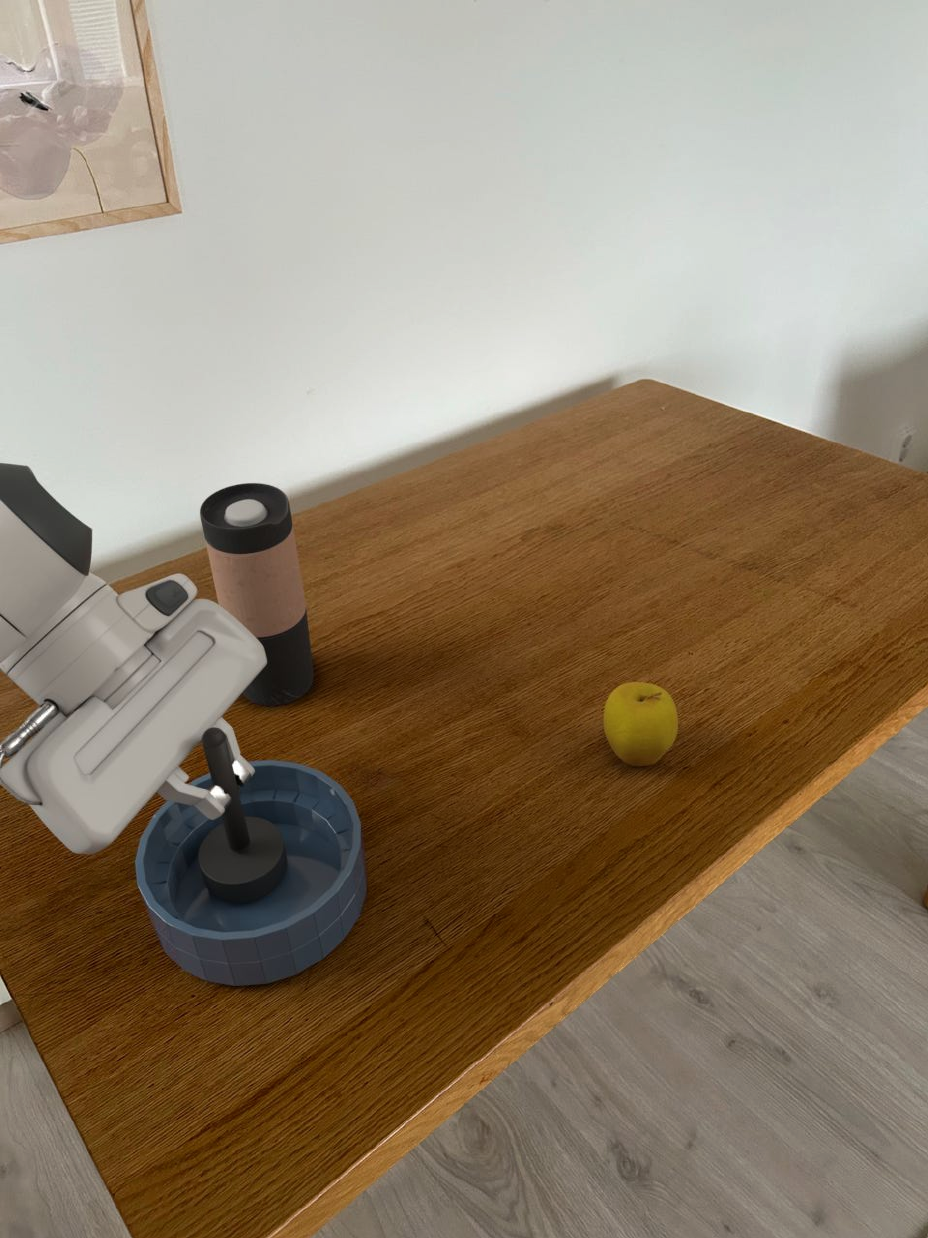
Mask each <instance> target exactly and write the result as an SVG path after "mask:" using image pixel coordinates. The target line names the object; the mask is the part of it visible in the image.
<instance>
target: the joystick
mask: <svg viewBox="0 0 928 1238" xmlns="http://www.w3.org/2000/svg"><path fill="white" fill-rule="evenodd" d="M201 744H202V747H203V752H204V755H205V756H204V757H205V759H206V762H207V767H208V771H209V773H210V775H211V779H212V783H213V785H215V784H217V785H219V786H220V787H221V788H222V789H223V790H224V793H226V794H229V795H230V796H231V798H232V802H231V803H230V805H229V806H228V807H227V809H226V810H225V812H224V813H223V814H222V815H221V817H222V821H223V823H222V824H220V825H219V826H217V827H216V828H214V829H213V830H212V831H211V832H210V833H209V834H208V835H207V836H206V837H205V839H204V840H203V842H202V844H201V846H200V849H199V854H198V860H199V865H200V868H201V872H202V875H203V879H204V882H205V885H206V887H207V889H208V890H209V892H210V893H211V894H212V895H214V896H215V897H216V898H218V899H220V900H222V901H225V902H229V903H248V902H252V901H255V900H258V899H260V898H263V897H264V896H266V895H268V894H269V893H271V892H272V891H273V890H274V889H275V888H276V887H277V886H278V885H279V884H280V883H281V881H282V880H283V878H284V876H285V874H286V870H287V855H286V850H285V845H284V840H283V837H282V834H281V832H280V830H279V829H278V828H277V827H276V826H275V825H274V824H273V823H271V822H270V821H267V820H265V819H262V818H258V817H245V816H244V812H243V808H242V803H241V799H240V795H239V791H238V787H237V782H236V778H235V774H234V770H233V766H232V761H231V757H230V753H229V749H228V745H227V740H226V736H225V734H224V732H223V731H222V730H221V729H219V728H216V727H212V728H209V729H207V730H206V731H205V732H204V733H203V735H202V743H201Z"/></svg>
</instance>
